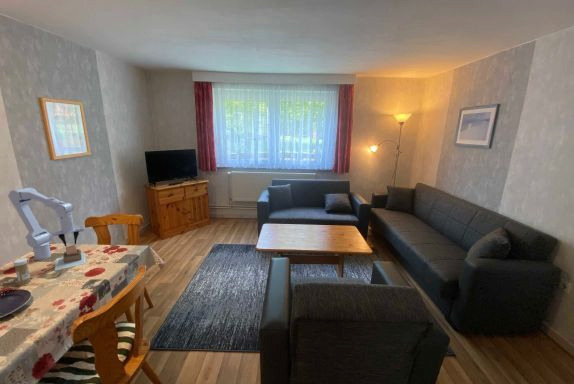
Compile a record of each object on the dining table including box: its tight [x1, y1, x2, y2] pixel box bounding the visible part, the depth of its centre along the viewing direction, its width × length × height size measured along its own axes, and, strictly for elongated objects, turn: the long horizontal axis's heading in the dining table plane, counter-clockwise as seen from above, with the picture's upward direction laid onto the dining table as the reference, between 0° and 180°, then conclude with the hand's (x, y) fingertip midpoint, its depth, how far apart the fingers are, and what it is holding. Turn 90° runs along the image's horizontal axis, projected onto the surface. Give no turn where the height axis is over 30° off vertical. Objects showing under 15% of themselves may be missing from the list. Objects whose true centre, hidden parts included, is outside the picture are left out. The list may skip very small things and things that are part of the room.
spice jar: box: [13, 258, 31, 287], centre depth 127 cm, size 5×5×13 cm
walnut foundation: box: [62, 248, 82, 263], centre depth 153 cm, size 8×8×4 cm
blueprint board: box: [54, 252, 87, 271], centre depth 151 cm, size 17×14×1 cm
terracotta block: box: [65, 243, 78, 255], centre depth 152 cm, size 5×5×5 cm
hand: (70, 244), depth 151 cm, fingers open, 4 cm apart
